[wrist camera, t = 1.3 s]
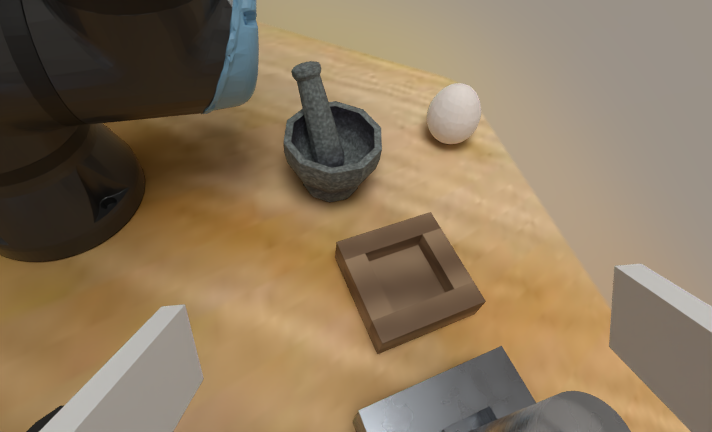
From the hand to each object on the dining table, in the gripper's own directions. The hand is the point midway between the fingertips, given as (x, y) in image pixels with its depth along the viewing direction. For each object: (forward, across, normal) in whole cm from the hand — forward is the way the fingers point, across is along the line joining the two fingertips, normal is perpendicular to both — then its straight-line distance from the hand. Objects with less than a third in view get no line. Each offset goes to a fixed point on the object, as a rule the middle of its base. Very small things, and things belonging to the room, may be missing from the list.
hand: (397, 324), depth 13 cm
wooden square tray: (+25, +1, -11) cm, 27 cm away
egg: (+41, +9, +1) cm, 42 cm away
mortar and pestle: (+34, -6, -1) cm, 35 cm away
